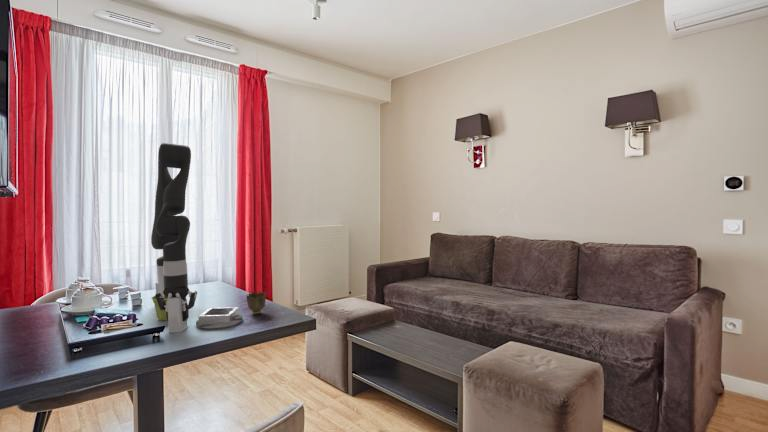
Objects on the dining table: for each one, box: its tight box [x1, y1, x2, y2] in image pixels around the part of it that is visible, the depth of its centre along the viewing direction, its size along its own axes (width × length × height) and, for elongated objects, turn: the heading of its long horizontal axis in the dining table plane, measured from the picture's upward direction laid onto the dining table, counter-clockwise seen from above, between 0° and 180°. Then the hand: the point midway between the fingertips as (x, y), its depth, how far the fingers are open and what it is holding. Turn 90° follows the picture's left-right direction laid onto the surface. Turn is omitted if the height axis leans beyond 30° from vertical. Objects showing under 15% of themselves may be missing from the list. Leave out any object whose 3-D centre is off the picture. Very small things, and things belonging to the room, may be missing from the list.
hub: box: [195, 306, 244, 331], centre depth 153 cm, size 16×16×4 cm
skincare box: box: [167, 297, 188, 334], centre depth 145 cm, size 6×4×12 cm
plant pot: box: [151, 295, 168, 321], centre depth 160 cm, size 9×9×9 cm
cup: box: [245, 291, 267, 316], centre depth 163 cm, size 8×7×8 cm
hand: (177, 320), depth 145 cm, fingers closed on skincare box, 4 cm apart
